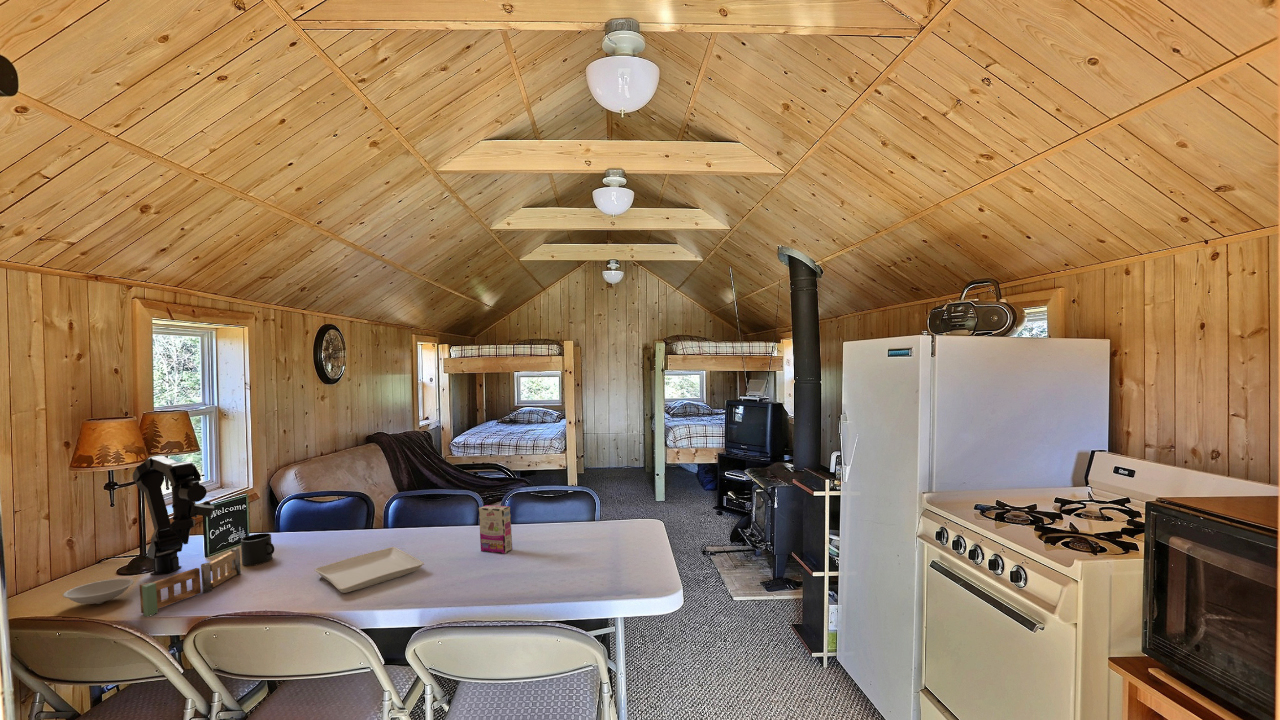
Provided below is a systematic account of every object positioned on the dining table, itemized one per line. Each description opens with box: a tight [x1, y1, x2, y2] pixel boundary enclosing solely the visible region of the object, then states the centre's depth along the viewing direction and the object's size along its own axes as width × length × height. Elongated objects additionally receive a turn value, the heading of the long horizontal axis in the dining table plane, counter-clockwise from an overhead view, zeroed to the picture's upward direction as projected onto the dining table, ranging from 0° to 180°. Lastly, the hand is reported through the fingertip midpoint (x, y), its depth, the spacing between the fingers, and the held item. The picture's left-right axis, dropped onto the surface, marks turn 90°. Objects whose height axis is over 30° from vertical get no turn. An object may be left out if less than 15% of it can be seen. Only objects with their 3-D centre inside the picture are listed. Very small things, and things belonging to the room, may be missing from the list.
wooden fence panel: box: [200, 547, 242, 594], centre depth 196 cm, size 2×17×9 cm, turn 1°
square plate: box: [314, 546, 425, 594], centre depth 197 cm, size 27×27×4 cm
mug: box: [240, 532, 275, 566], centre depth 216 cm, size 9×12×9 cm
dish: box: [62, 578, 135, 605], centre depth 183 cm, size 18×14×5 cm
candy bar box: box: [478, 504, 513, 554], centre depth 216 cm, size 11×5×16 cm, turn 68°
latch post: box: [142, 582, 159, 617], centre depth 173 cm, size 2×2×9 cm
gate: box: [138, 567, 202, 614], centre depth 180 cm, size 15×2×8 cm, turn 155°
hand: (185, 544), depth 201 cm, fingers closed
